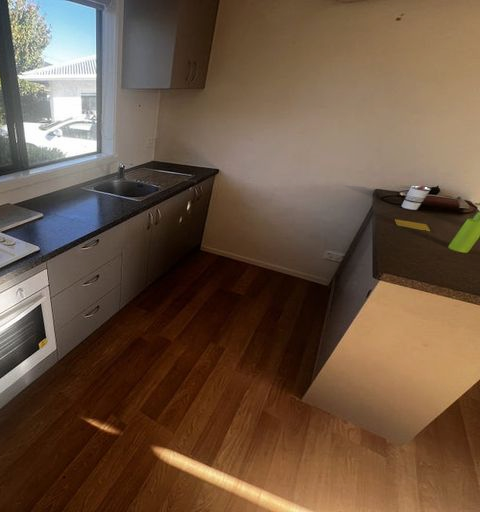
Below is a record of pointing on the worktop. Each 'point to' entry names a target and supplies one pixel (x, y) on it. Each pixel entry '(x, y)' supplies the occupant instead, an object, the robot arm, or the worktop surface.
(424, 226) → the cloth
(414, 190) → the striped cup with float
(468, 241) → the soap dispenser
